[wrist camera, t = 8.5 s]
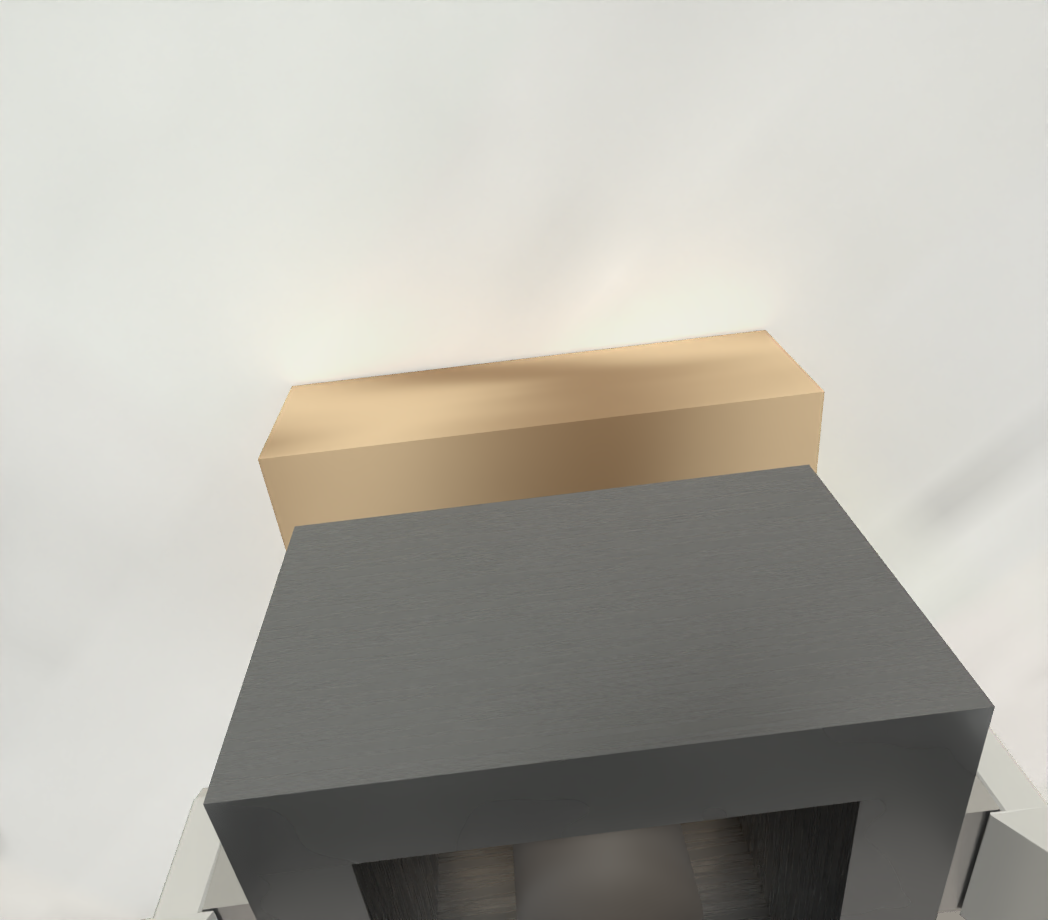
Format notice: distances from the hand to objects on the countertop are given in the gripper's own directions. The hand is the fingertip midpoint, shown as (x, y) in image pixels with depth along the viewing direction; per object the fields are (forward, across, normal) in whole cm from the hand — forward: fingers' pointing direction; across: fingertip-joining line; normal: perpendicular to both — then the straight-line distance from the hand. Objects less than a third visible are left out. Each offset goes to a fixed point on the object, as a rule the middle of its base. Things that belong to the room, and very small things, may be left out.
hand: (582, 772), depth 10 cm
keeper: (+6, 0, 0) cm, 6 cm away
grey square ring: (+2, 0, 0) cm, 2 cm away
